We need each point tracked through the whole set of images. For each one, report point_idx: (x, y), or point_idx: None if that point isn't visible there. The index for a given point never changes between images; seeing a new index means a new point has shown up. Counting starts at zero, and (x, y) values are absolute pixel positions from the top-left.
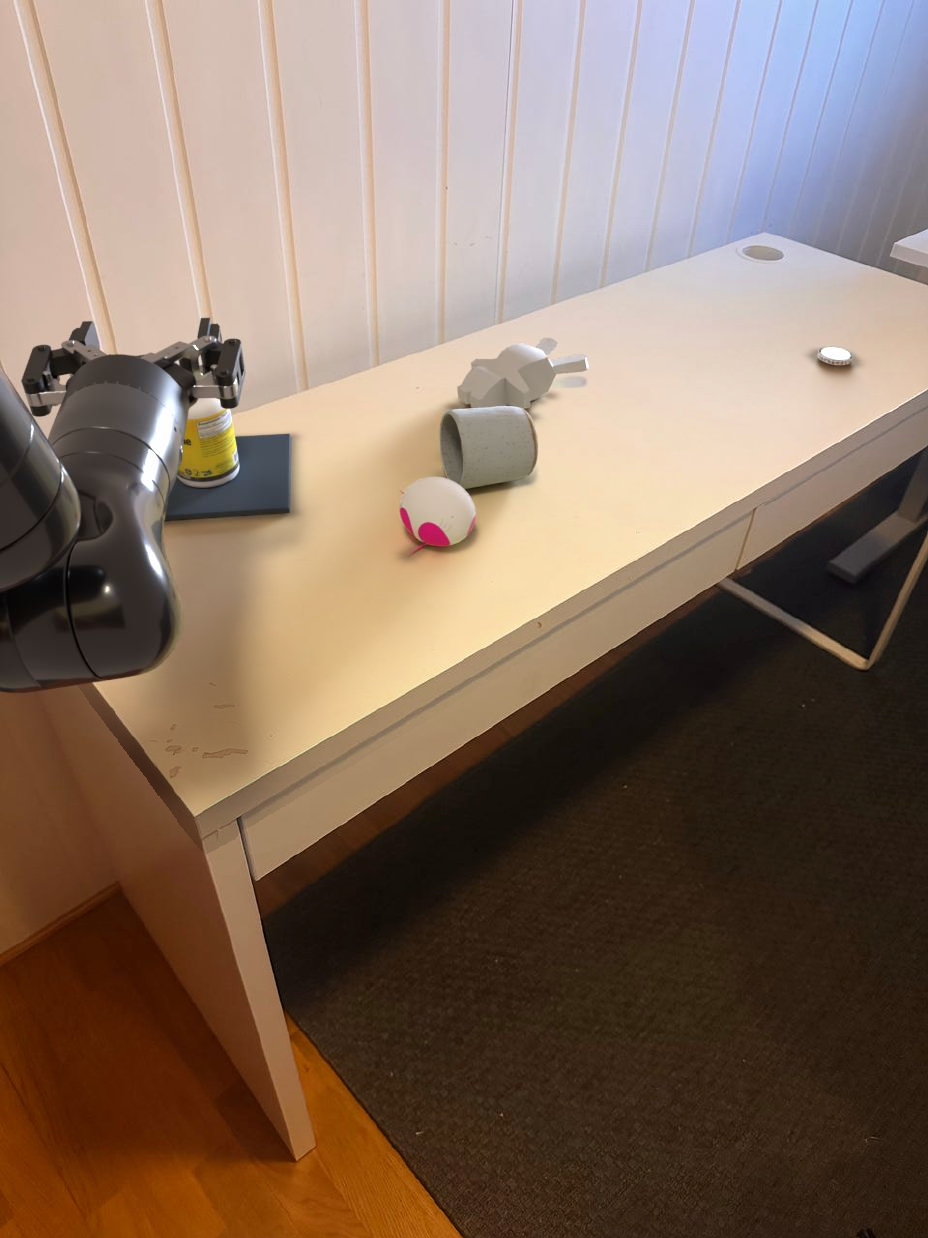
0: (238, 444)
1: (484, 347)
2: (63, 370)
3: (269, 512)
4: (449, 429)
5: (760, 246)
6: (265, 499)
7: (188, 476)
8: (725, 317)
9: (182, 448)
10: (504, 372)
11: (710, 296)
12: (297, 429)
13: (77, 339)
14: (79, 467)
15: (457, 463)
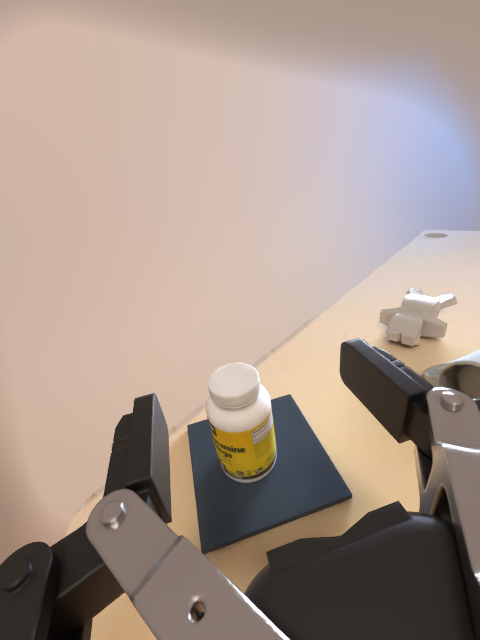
0: None
1: (357, 302)
2: (100, 603)
3: (334, 504)
4: (445, 373)
5: (430, 233)
6: (321, 486)
7: (239, 476)
8: (465, 261)
9: (235, 456)
10: (417, 315)
11: (441, 255)
12: (289, 387)
13: (132, 477)
14: None
15: None
